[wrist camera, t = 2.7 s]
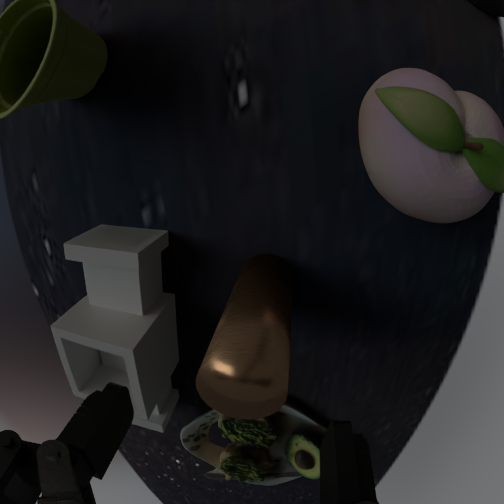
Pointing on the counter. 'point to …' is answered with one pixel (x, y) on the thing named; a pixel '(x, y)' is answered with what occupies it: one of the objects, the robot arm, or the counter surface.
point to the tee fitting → (122, 321)
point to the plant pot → (45, 55)
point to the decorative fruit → (430, 146)
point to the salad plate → (260, 445)
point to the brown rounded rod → (251, 343)
